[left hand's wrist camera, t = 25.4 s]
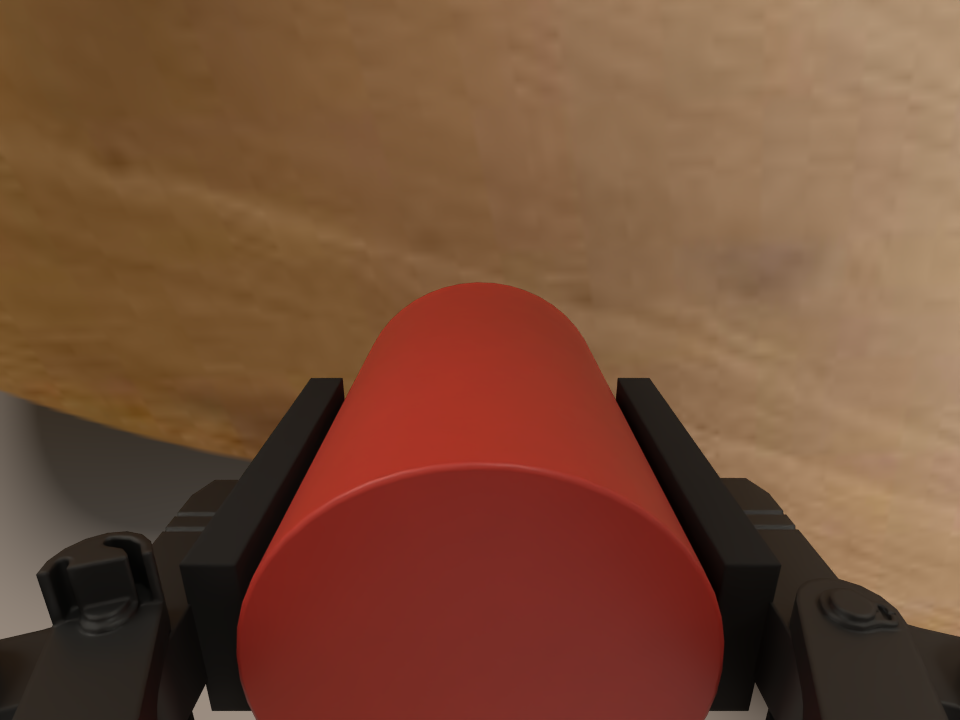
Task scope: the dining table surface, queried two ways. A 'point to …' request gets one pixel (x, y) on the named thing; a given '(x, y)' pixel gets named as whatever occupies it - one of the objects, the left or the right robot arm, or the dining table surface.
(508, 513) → the canister
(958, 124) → the dining table surface
